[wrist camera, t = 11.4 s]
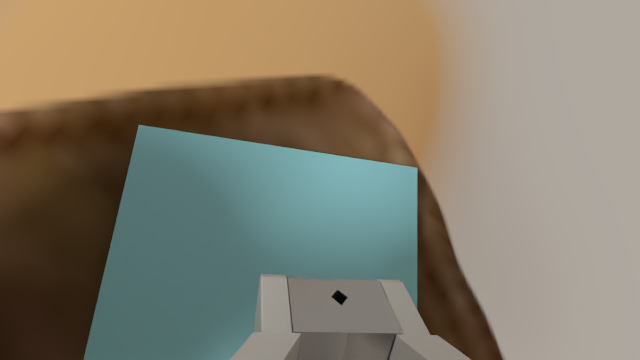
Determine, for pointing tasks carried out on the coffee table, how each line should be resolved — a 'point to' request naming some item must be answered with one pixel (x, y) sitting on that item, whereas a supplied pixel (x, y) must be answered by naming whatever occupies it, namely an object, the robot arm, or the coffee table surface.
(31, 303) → the coffee table surface
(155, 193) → the box lid
